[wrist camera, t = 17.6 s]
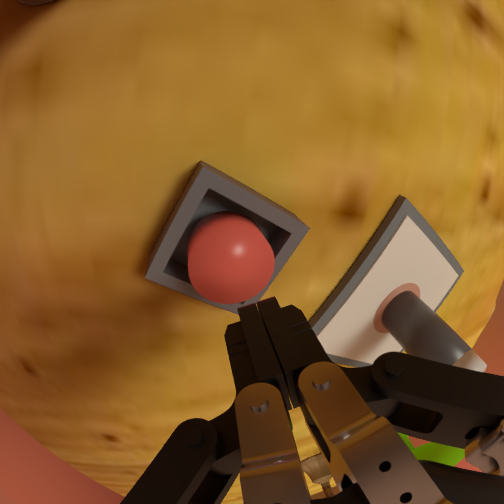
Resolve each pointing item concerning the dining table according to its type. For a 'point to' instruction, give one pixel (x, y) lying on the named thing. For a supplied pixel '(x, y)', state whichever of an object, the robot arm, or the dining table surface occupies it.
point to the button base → (210, 201)
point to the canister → (427, 333)
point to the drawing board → (384, 286)
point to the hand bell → (318, 472)
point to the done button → (229, 258)
